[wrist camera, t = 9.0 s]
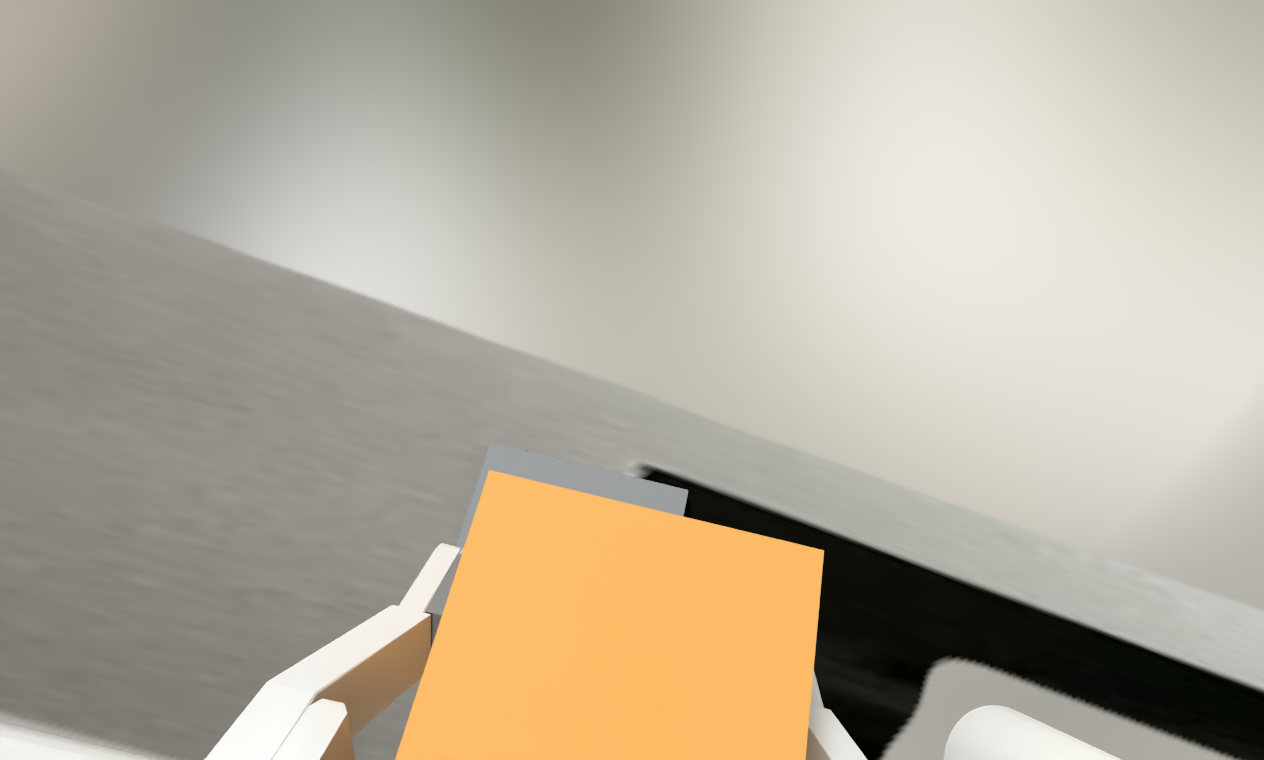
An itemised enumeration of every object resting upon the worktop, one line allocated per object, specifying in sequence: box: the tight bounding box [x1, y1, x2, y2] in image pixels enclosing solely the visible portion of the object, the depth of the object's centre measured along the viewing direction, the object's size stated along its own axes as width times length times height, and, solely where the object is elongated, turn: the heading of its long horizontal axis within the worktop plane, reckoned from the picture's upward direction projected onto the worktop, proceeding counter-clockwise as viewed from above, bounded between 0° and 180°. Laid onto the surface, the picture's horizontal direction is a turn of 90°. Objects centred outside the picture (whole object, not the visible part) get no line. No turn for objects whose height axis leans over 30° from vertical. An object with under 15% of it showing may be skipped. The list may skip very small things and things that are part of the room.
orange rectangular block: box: [395, 470, 824, 760], centre depth 10 cm, size 5×5×9 cm
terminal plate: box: [456, 442, 688, 549], centre depth 25 cm, size 12×10×1 cm
